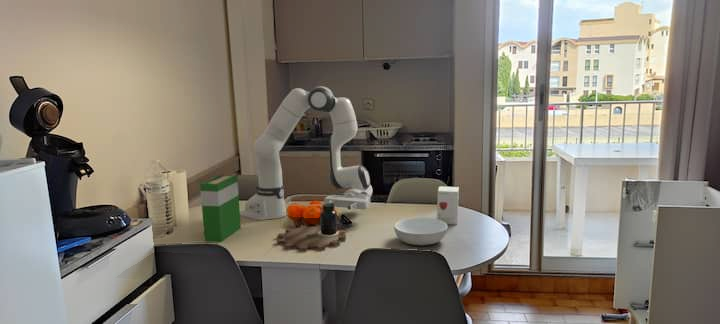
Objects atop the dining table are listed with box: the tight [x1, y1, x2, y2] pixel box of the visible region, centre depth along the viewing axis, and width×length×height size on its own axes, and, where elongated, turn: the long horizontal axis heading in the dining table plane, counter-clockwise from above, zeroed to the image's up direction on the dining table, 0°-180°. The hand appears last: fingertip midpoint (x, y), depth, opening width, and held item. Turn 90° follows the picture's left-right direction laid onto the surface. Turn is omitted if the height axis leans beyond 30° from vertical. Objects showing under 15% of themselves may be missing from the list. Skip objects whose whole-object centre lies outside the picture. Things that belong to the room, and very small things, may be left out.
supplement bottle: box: [319, 203, 338, 235], centre depth 201 cm, size 7×7×12 cm
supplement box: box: [436, 186, 460, 225], centre depth 218 cm, size 9×9×15 cm
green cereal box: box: [199, 173, 242, 243], centre depth 205 cm, size 18×7×24 cm, turn 168°
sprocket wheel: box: [276, 224, 347, 253], centre depth 200 cm, size 28×28×2 cm
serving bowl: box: [393, 217, 449, 246], centre depth 194 cm, size 21×21×7 cm
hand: (339, 206), depth 210 cm, fingers open, 8 cm apart
